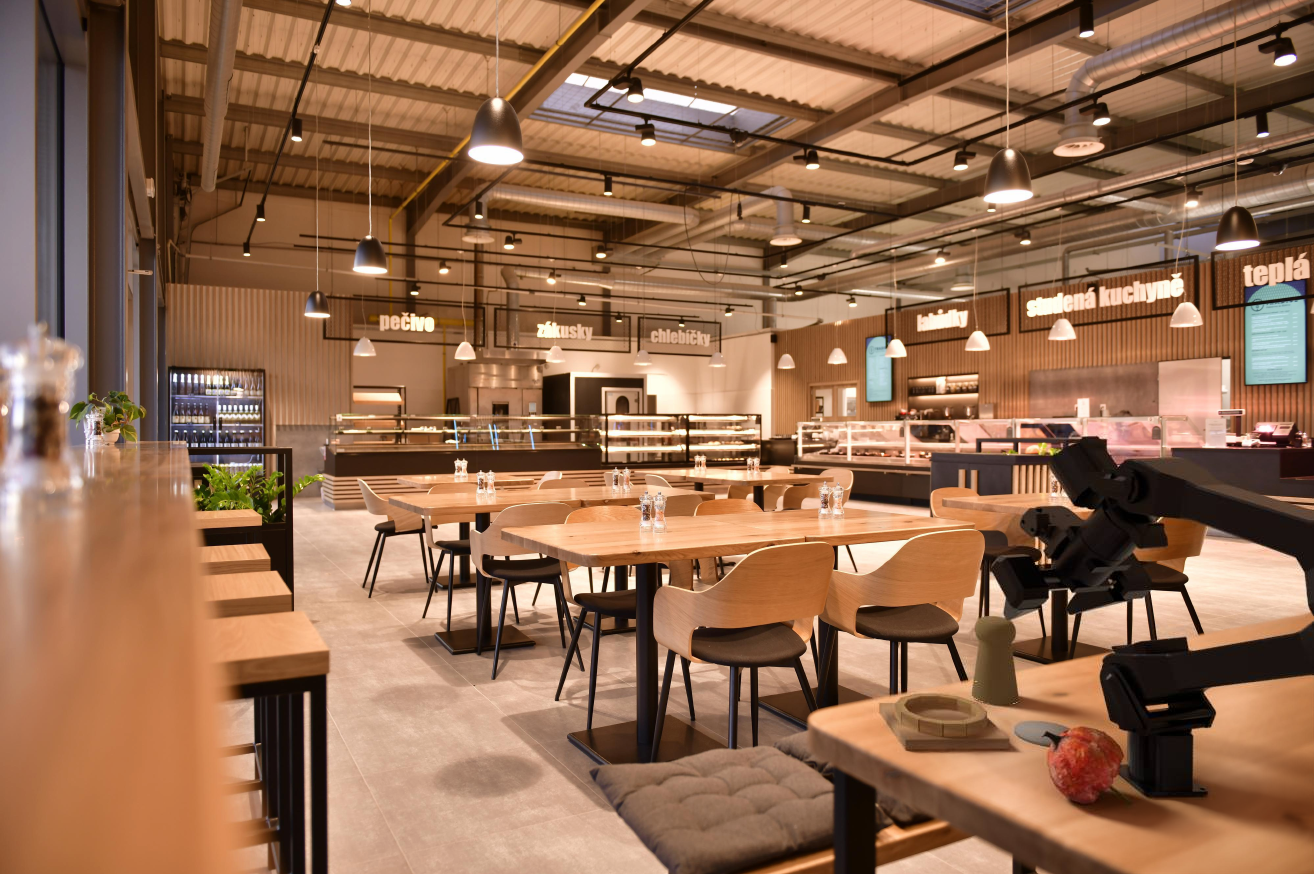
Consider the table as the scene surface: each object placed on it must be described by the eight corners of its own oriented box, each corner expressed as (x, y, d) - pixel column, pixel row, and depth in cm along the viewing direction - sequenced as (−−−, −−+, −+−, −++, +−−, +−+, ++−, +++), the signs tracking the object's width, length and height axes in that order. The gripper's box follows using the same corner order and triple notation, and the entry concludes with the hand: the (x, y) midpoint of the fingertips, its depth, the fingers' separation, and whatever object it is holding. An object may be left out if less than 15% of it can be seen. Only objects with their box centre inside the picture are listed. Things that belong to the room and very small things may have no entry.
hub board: (1009, 748, 97) (1009, 725, 97) (905, 749, 97) (905, 726, 97) (971, 711, 109) (971, 690, 109) (879, 712, 109) (879, 691, 109)
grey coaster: (1089, 746, 97) (1089, 743, 97) (1029, 746, 98) (1029, 743, 98) (1061, 723, 104) (1061, 720, 104) (1004, 724, 105) (1004, 720, 104)
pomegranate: (1110, 805, 88) (1027, 735, 91) (1160, 763, 85) (1072, 692, 88) (1104, 844, 82) (1015, 768, 85) (1157, 800, 78) (1063, 723, 82)
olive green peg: (1010, 690, 117) (1011, 612, 116) (1025, 706, 111) (1025, 623, 110) (966, 689, 117) (966, 611, 117) (978, 705, 111) (978, 623, 111)
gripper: (1133, 482, 102) (1067, 557, 113) (1000, 488, 97) (945, 565, 109) (1188, 557, 95) (1112, 630, 106) (1047, 567, 90) (983, 642, 101)
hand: (1037, 614), depth 105 cm, fingers open, 9 cm apart
